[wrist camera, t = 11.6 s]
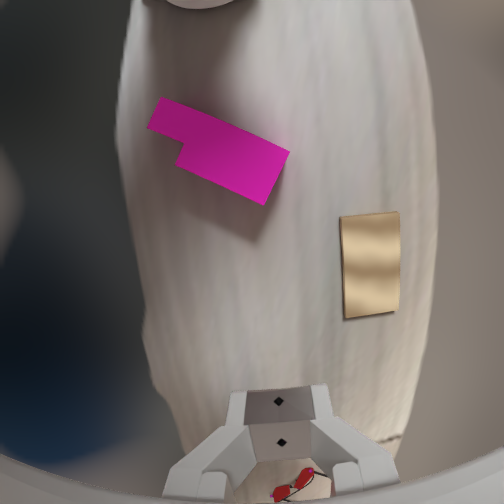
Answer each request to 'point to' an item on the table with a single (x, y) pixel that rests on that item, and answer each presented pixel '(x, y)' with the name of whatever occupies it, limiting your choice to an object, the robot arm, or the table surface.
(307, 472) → the glasses
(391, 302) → the wooden board
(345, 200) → the table surface
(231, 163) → the toy block
